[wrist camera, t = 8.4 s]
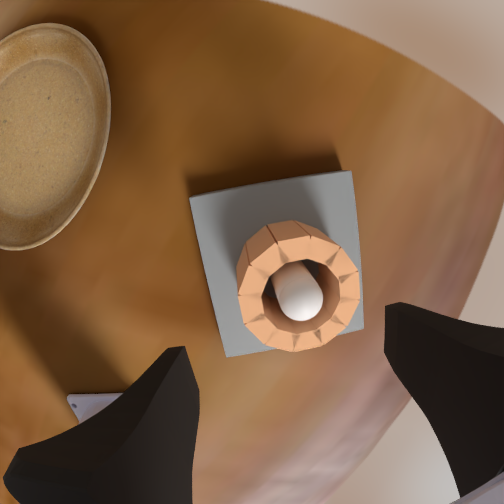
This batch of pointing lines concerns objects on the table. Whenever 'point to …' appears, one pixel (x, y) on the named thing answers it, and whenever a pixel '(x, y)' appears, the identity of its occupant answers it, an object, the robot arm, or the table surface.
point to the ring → (329, 280)
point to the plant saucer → (48, 130)
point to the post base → (252, 216)
